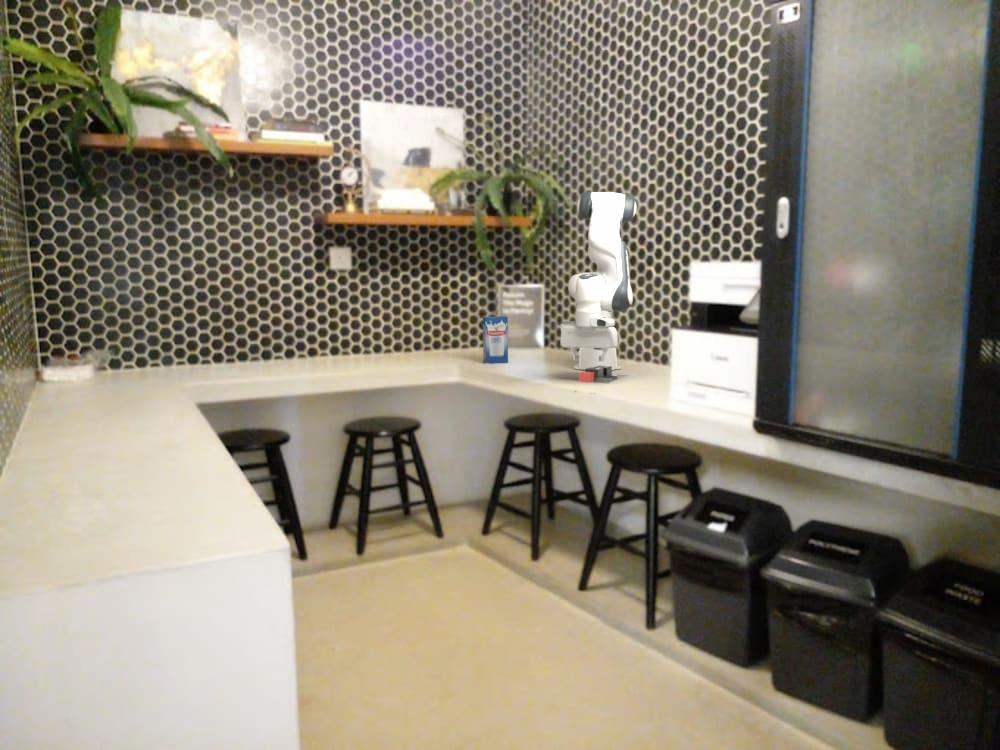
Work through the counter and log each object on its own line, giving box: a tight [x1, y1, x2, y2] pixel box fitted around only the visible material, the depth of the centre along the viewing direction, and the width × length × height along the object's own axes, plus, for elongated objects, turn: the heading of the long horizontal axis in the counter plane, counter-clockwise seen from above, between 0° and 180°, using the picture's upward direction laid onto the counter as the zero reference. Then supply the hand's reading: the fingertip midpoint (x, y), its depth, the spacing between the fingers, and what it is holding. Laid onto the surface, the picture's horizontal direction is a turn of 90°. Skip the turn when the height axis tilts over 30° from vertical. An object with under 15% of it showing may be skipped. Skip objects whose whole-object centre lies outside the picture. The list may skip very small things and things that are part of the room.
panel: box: [576, 366, 629, 384], centre depth 270 cm, size 22×12×5 cm, turn 151°
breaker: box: [584, 367, 603, 378], centre depth 268 cm, size 5×5×4 cm
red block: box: [578, 371, 594, 383], centre depth 263 cm, size 4×4×3 cm
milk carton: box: [482, 315, 509, 364], centre depth 329 cm, size 10×6×20 cm, turn 101°
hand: (588, 360), depth 261 cm, fingers open, 8 cm apart
